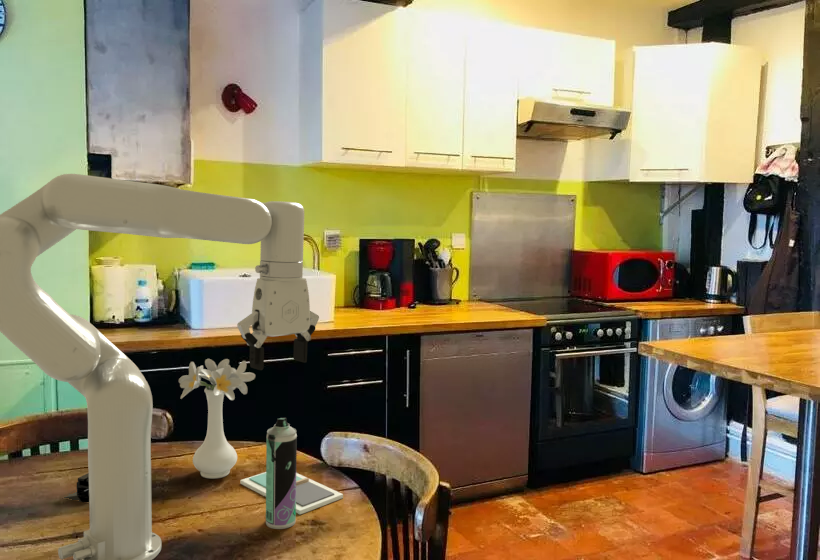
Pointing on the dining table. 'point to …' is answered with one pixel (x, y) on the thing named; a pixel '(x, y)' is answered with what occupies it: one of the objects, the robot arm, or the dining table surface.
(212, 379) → the flower vase
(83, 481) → the black angular piece
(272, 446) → the spray can
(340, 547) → the dining table surface
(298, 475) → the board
